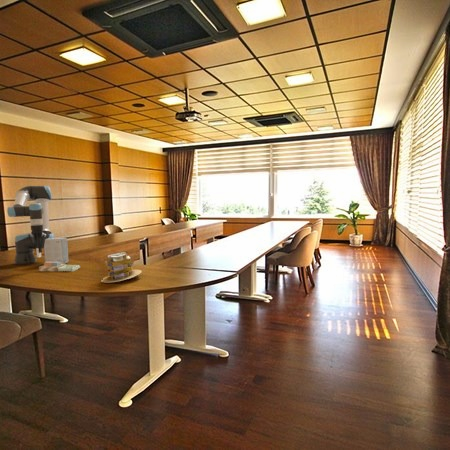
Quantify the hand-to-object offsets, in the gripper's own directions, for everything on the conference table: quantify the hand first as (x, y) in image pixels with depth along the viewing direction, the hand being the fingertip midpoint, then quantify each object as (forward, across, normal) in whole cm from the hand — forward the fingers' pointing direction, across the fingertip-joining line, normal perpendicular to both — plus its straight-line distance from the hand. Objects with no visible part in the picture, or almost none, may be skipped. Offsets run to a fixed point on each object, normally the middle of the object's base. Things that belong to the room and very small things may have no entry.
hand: (39, 256), depth 223 cm
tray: (+10, +22, 0) cm, 24 cm away
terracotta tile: (+6, +7, 0) cm, 10 cm away
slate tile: (+6, +13, 0) cm, 14 cm away
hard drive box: (+9, 0, +20) cm, 22 cm away
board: (+9, +10, 0) cm, 14 cm away
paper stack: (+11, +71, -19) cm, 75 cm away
